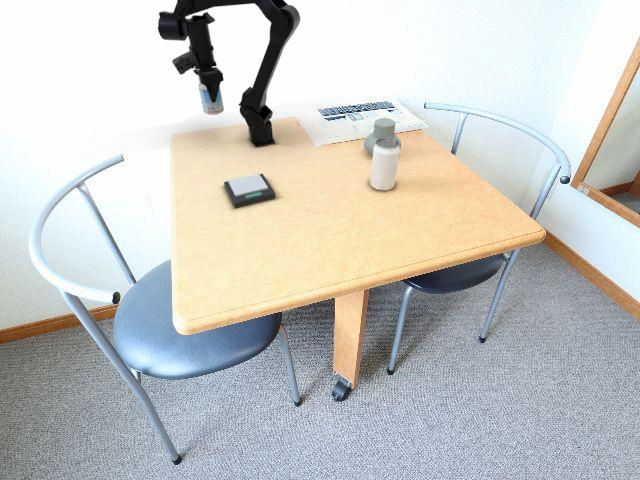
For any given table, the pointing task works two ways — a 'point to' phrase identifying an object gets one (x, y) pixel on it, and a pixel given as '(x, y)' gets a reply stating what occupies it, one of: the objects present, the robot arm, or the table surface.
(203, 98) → the pill bottle
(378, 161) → the can
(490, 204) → the table surface
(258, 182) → the scale
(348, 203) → the table surface
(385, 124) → the air freshener
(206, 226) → the table surface
